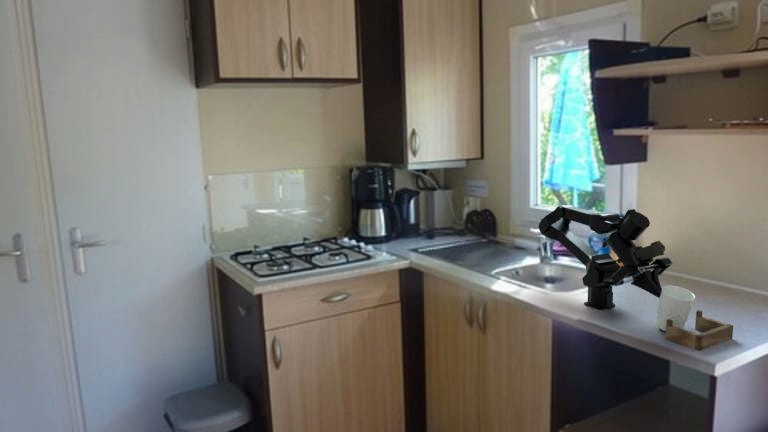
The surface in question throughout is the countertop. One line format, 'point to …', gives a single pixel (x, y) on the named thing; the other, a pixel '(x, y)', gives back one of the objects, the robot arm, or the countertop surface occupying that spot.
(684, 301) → the white cup
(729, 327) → the rack
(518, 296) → the countertop surface
